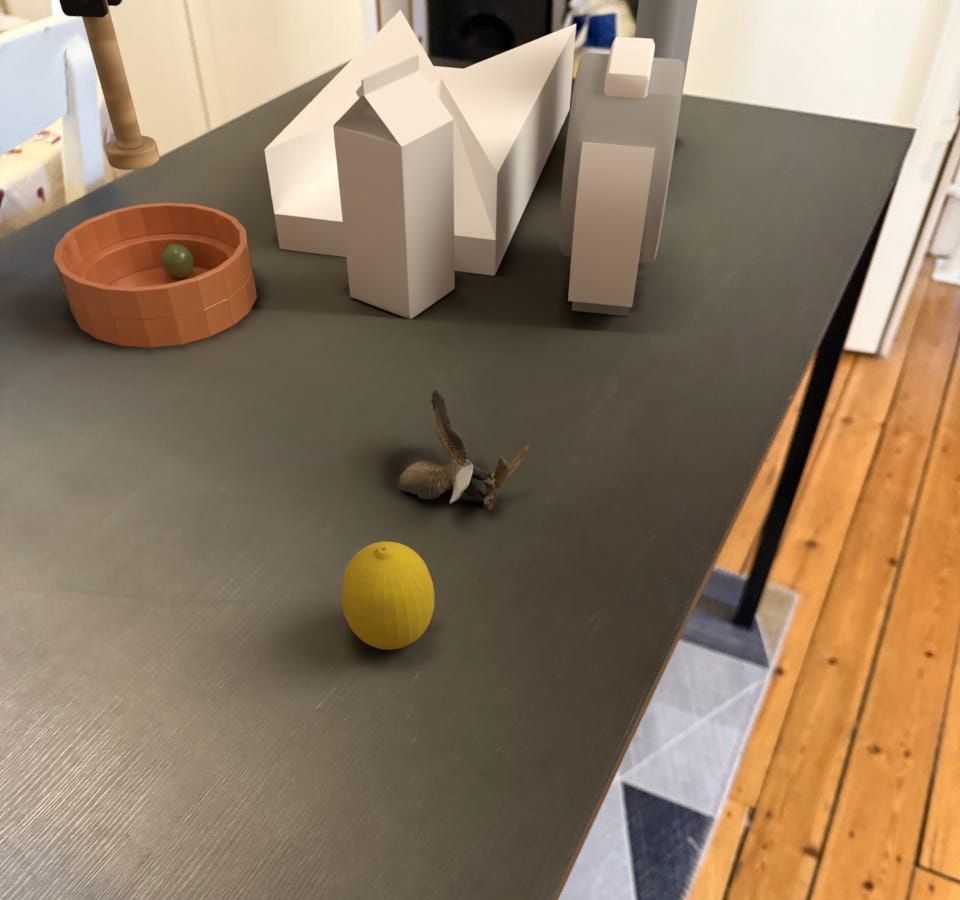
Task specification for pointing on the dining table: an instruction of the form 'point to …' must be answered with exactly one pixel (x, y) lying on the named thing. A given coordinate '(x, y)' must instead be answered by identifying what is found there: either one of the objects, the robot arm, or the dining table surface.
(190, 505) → the dining table surface
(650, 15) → the flask
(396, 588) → the lemon
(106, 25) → the stick
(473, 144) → the building model
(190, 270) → the bead
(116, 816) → the dining table surface
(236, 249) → the bowl
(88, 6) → the robot arm
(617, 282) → the grey boxy piece
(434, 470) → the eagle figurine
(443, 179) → the milk carton
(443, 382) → the dining table surface
